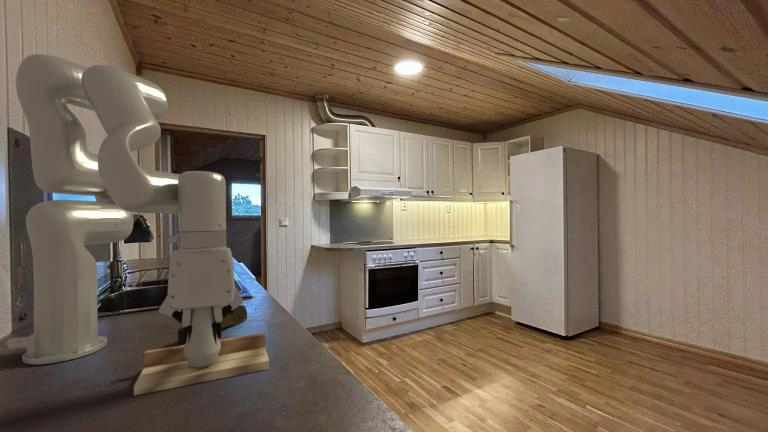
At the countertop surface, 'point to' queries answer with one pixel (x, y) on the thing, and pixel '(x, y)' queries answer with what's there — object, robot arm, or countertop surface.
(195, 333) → the salt shaker
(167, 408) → the countertop surface
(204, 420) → the countertop surface
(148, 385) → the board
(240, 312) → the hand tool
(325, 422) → the countertop surface
